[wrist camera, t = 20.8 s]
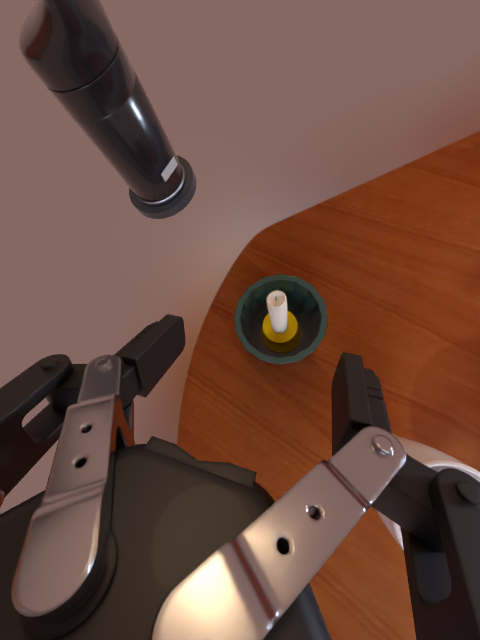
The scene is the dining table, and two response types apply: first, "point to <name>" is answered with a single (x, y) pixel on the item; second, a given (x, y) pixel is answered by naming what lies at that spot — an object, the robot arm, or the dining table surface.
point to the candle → (280, 325)
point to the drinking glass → (431, 459)
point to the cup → (299, 303)
